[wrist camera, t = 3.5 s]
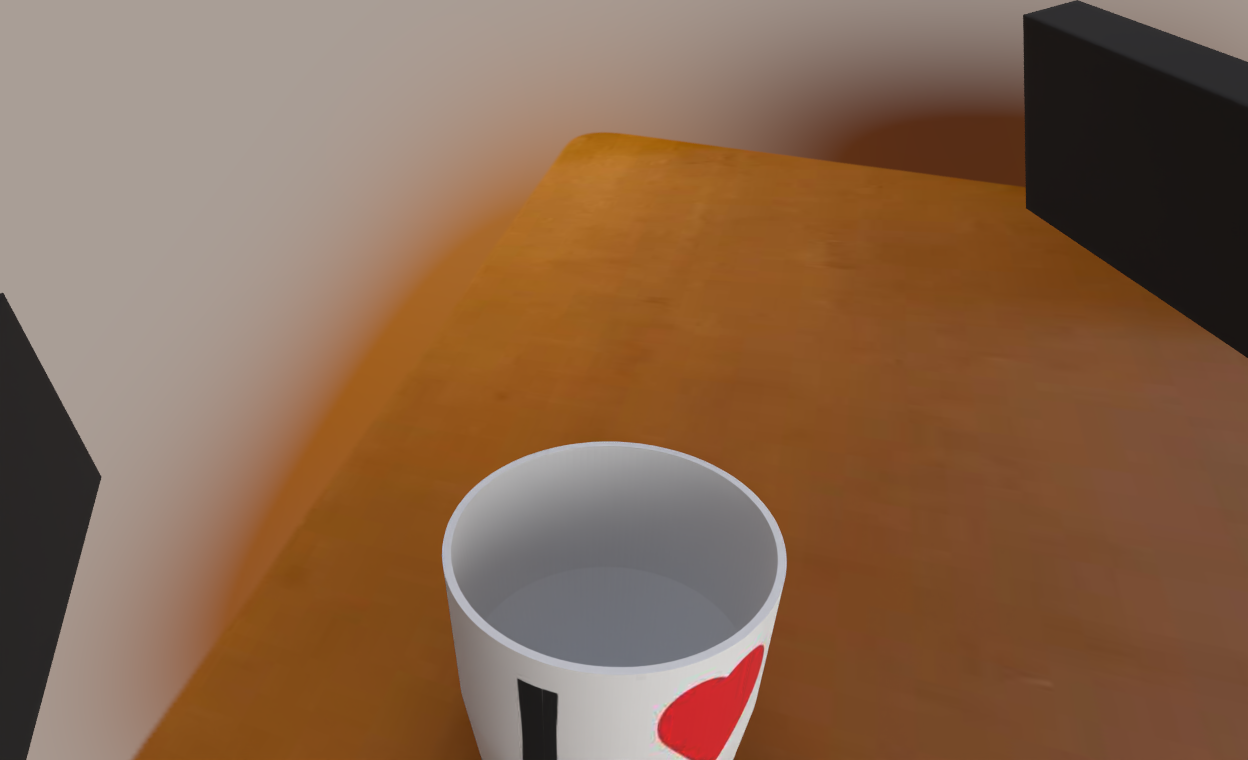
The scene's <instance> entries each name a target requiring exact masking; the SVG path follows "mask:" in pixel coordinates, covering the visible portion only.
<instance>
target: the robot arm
mask: <svg viewBox="0 0 1248 760" xmlns="http://www.w3.org/2000/svg"><path fill="white" fill-rule="evenodd" d="M1023 28H1024V96H1025V160H1026V161H1025V164H1026V208H1027V209H1028V210H1030V211H1031V212H1033V213H1034V214H1036V215H1037V216H1039V217H1040V218H1041V219H1043V220H1044V221H1046V222H1047V223H1049V224H1050V225H1052V226H1053V227H1055V228H1056V229H1058V230H1059V231H1061V232H1062V233H1064V234H1065V235H1067V236H1068V237H1070V238H1071V239H1073V240H1074V241H1075V242H1077V243H1078V244H1080V245H1081V246H1083V247H1084V248H1086V249H1087V250H1089V251H1090V252H1092V253H1093V254H1095V255H1096V256H1098V257H1099V258H1101V259H1102V260H1104V261H1105V262H1107V263H1108V264H1110V265H1111V266H1112V267H1114V268H1115V269H1117V270H1118V271H1120V272H1121V273H1123V274H1124V275H1126V276H1127V277H1129V278H1130V279H1132V280H1133V281H1135V282H1136V283H1138V284H1139V285H1141V286H1142V287H1144V288H1145V289H1147V290H1148V291H1149V292H1151V293H1152V294H1154V295H1155V296H1157V297H1158V298H1160V299H1161V300H1163V301H1164V302H1166V303H1167V304H1169V305H1170V306H1172V307H1173V308H1175V309H1176V310H1178V311H1179V312H1181V313H1182V314H1184V315H1185V316H1186V317H1188V318H1189V319H1191V320H1192V321H1194V322H1195V323H1197V324H1198V325H1200V326H1201V327H1203V328H1204V329H1206V330H1207V331H1209V332H1210V333H1212V334H1213V335H1215V336H1216V337H1218V338H1219V339H1220V340H1222V341H1223V342H1225V343H1226V344H1228V345H1229V346H1231V347H1232V348H1234V349H1235V350H1237V351H1238V352H1240V353H1241V354H1243V355H1244V356H1246V357H1247V358H1248V62H1246V61H1243V60H1241V59H1238V58H1235V57H1233V56H1230V55H1227V54H1224V53H1222V52H1219V51H1216V50H1213V49H1210V48H1208V47H1205V46H1202V45H1199V44H1197V43H1194V42H1191V41H1189V40H1185V39H1183V38H1180V37H1177V36H1175V35H1172V34H1169V33H1166V32H1164V31H1161V30H1158V29H1155V28H1153V27H1150V26H1147V25H1144V24H1142V23H1138V22H1136V21H1133V20H1131V19H1128V18H1125V17H1122V16H1120V15H1117V14H1114V13H1111V12H1109V11H1106V10H1103V9H1100V8H1097V7H1095V6H1092V5H1089V4H1086V3H1084V2H1081V1H1078V0H1077V1H1073V2H1069V3H1065V4H1062V5H1058V6H1054V7H1050V8H1047V9H1043V10H1040V11H1036V12H1032V13H1028V14H1025V15H1023ZM100 480H101V475H100V473H99V472H98V470H97V468H96V466H95V464H94V462H93V460H92V459H91V457H90V455H89V453H88V451H87V449H86V447H85V445H84V444H83V442H82V440H81V438H80V436H79V434H78V432H77V430H76V429H75V427H74V425H73V423H72V421H71V419H70V417H69V415H68V414H67V412H66V410H65V408H64V406H63V404H62V402H61V400H60V399H59V397H58V395H57V393H56V391H55V389H54V387H53V385H52V383H51V382H50V380H49V378H48V376H47V374H46V372H45V370H44V368H43V367H42V365H41V363H40V361H39V359H38V357H37V355H36V353H35V352H34V350H33V348H32V346H31V344H30V342H29V340H28V338H27V337H26V335H25V333H24V331H23V329H22V327H21V325H20V323H19V322H18V320H17V318H16V316H15V314H14V312H13V311H12V308H11V307H10V305H9V303H8V301H7V299H6V297H5V295H4V293H1V294H0V760H26V758H27V754H28V751H29V747H30V743H31V739H32V735H33V731H34V728H35V724H36V721H37V717H38V713H39V709H40V705H41V702H42V698H43V694H44V690H45V687H46V683H47V679H48V676H49V672H50V668H51V664H52V660H53V657H54V653H55V649H56V645H57V642H58V638H59V634H60V630H61V627H62V623H63V619H64V615H65V612H66V608H67V604H68V600H69V597H70V593H71V589H72V585H73V582H74V578H75V574H76V570H77V567H78V563H79V559H80V555H81V552H82V548H83V544H84V540H85V536H86V533H87V529H88V525H89V521H90V517H91V514H92V510H93V506H94V503H95V499H96V495H97V491H98V488H99V484H100Z"/></svg>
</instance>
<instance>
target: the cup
mask: <svg viewBox="0 0 1248 760" xmlns="http://www.w3.org/2000/svg"><path fill="white" fill-rule="evenodd" d="M442 560H443V569H444V575H445V582H446V589H447V596H448V603H449V610H450V617H451V624H452V631H453V638H454V645H455V651H456V658H457V665H458V672H459V679H460V686H461V692H462V696H463V700H464V703H465V706H466V709H467V713H468V716H469V719H470V722H471V726H472V729H473V732H474V736H475V739H476V742H477V745H478V749H479V752H480V755H481V758H482V760H733V758H734V756H735V753H736V751H737V748H738V746H739V744H740V741H741V739H742V736H743V734H744V731H745V729H746V726H747V724H748V721H749V719H750V716H751V714H752V711H753V709H754V706H755V702H756V699H757V694H758V690H759V686H760V682H761V677H762V673H763V669H764V665H765V660H766V656H767V652H768V648H769V644H770V639H771V635H772V631H773V627H774V622H775V618H776V614H777V610H778V605H779V601H780V597H781V593H782V589H783V584H784V580H785V575H786V550H785V545H784V541H783V537H782V534H781V532H780V529H779V527H778V525H777V523H776V521H775V519H774V518H773V516H772V515H771V513H770V512H769V510H768V509H767V507H766V506H765V505H764V504H763V503H762V501H761V500H760V499H759V498H758V497H757V496H756V495H755V494H754V493H753V492H752V491H751V490H750V489H749V488H747V487H746V486H745V485H744V484H742V483H741V482H740V481H738V480H737V479H736V478H734V477H733V476H731V475H730V474H728V473H726V472H725V471H723V470H721V469H719V468H717V467H716V466H714V465H712V464H709V463H707V462H705V461H703V460H700V459H698V458H695V457H693V456H690V455H687V454H684V453H681V452H678V451H674V450H670V449H666V448H662V447H657V446H652V445H646V444H638V443H628V442H589V443H579V444H571V445H565V446H560V447H555V448H551V449H547V450H543V451H540V452H537V453H534V454H531V455H528V456H525V457H523V458H520V459H518V460H516V461H514V462H511V463H509V464H507V465H506V466H504V467H502V468H500V469H498V470H497V471H495V472H494V473H492V474H491V475H489V476H488V477H486V478H485V479H484V480H482V481H481V482H480V483H479V484H477V485H476V486H475V487H474V488H473V489H472V490H471V491H470V492H469V493H468V494H467V495H466V496H465V497H464V499H463V500H462V501H461V502H460V504H459V505H458V507H457V508H456V510H455V511H454V513H453V515H452V517H451V519H450V521H449V523H448V526H447V529H446V532H445V535H444V540H443V548H442Z"/></svg>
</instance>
